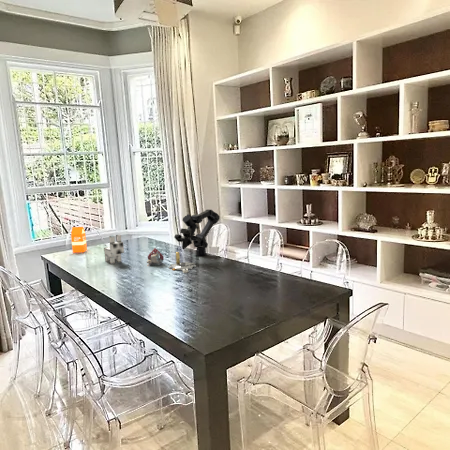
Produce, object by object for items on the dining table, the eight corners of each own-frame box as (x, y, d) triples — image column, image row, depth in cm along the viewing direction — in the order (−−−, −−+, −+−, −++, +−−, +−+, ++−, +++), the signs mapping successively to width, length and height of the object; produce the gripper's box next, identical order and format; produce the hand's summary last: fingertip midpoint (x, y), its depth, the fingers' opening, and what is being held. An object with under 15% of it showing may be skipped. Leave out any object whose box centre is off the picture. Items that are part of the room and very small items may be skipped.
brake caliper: (166, 258, 273) (162, 247, 264) (163, 270, 265) (159, 260, 257) (151, 258, 274) (146, 247, 266) (147, 270, 267) (143, 260, 258)
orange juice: (83, 252, 310) (81, 227, 307) (72, 252, 311) (70, 227, 307) (87, 249, 318) (84, 225, 315) (76, 250, 318) (73, 226, 315)
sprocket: (184, 261, 270) (183, 249, 268) (201, 265, 258) (201, 253, 256) (163, 267, 257) (162, 254, 256) (180, 272, 245) (179, 258, 244)
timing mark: (182, 271, 247) (182, 268, 247) (187, 271, 248) (187, 268, 248) (183, 272, 244) (183, 269, 244) (188, 272, 245) (188, 269, 245)
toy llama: (113, 258, 286) (111, 232, 282) (124, 263, 273) (122, 235, 269) (103, 261, 281) (101, 233, 277) (114, 265, 268) (112, 236, 264)
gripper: (175, 223, 272) (166, 241, 264) (197, 224, 263) (189, 243, 255) (182, 232, 280) (173, 250, 272) (204, 233, 271) (196, 252, 263)
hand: (182, 249), depth 266 cm, fingers closed
